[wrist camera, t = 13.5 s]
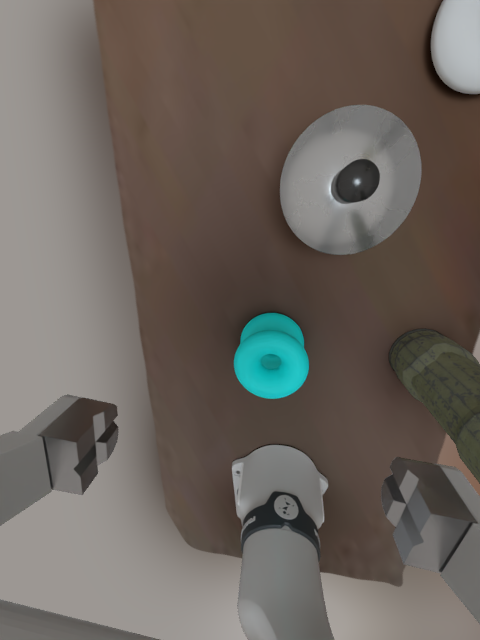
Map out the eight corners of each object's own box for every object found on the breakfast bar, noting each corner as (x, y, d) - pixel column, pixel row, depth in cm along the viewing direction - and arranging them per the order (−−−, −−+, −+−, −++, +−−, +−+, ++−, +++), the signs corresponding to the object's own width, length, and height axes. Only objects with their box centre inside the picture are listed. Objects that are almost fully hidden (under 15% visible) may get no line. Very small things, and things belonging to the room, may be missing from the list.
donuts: (304, 329, 33) (314, 399, 36) (298, 305, 42) (307, 362, 46) (224, 341, 35) (241, 406, 38) (235, 315, 44) (248, 369, 47)
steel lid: (392, 260, 30) (415, 268, 25) (271, 246, 31) (270, 251, 26) (435, 115, 25) (473, 89, 20) (290, 104, 26) (293, 78, 21)
